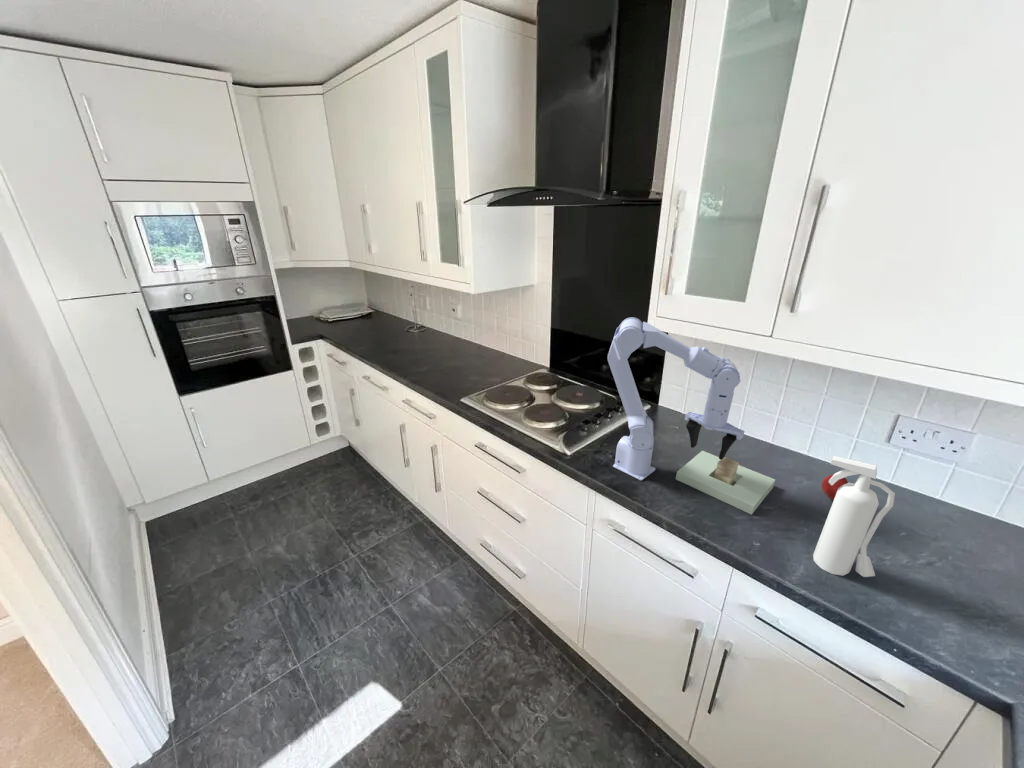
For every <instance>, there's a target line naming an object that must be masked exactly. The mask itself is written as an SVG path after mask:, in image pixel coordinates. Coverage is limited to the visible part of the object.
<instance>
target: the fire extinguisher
mask: <svg viewBox="0 0 1024 768" xmlns="http://www.w3.org/2000/svg"><path fill="white" fill-rule="evenodd" d="M830 465H832V466H835V467H839V468H842V470H840V471H837V472H835V473H833V474H834V475H833V474H832V475H833V476H832V477H831V478H830V480H829V481H828V482H829V483H830V484H831V485H833V484H834V483H835V482H836V481H838V480H839V479H842V478H847V477H849V476H854V475H857V476H858V475H859V476H858V477H857V479H856V481H855V483H854V482H853V483H852V482H848V483H847V484H844V485H842V486H841V487H840V488H838V490H837V493H836V496H835V498H834V499H833V501H832V504H831V506H830V509H829V512H828V515H827V516H826V517H827V518H826V519H825V523H824V524H823V528H822V530H821V534H820V536H819V539H818V541H817V543H816V546H815V549H814V552H813V555H812V557H813V562H814V563H815V564H816V565H817V566H818V567H819V568H820V569H822V570H823V571H826V572H827V573H829V574H832V575H837V576H842V577H843V576H845V575H847V574H849V573H850V572H851V570H852V567H853V565H854V563H855V560H856V563H855V564H856V565H855V572H856V573H858V574H859V575H860V576H862V577H863V578H869V577H870V578H871V577H876V574H875V570H874V567H873V564H872V561H871V557H869V556H868V555H867V553H868V552H867V550H868V549H867V547H868V545H869V543H870V542H871V539H872V538H873V537H874V536H873V535H874V534H875V532H876V531H877V529H878V527H879V526H880V524H881V522H882V521H883V519H884V517H885V516H886V515H887V514H888V513H889V511H890V510H891V509H892V508H893V507H894V504H895V503H894V502H895V496H896V493H895V491H893V490H892V489H890V487H888V486H887V485H886V484H884V483H883V482H879V481H876V479H877V476H878V475H877V474H878V472H877V471H878V470H877V465H875V464H872V463H868V462H863V461H859V460H854V459H850V458H845V457H841V456H837V455H833V457H832V458H831V461H830ZM874 479H875V480H874ZM871 485H873V486H875V487H878V488H880V489H882V491H884V492H886V493H887V499H886V503H885V505H884V506H883V507H882V509H880V510H879V512H878V513H877V514H876V512H877V509H878V507H879V505H880V504H879V499H878V495H877V493H876V492H875V491H874V490H872V489H870V486H871ZM875 514H876V516H875ZM874 516H875V518H874ZM873 519H874V520H873ZM859 551H860V553H859Z"/></svg>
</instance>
